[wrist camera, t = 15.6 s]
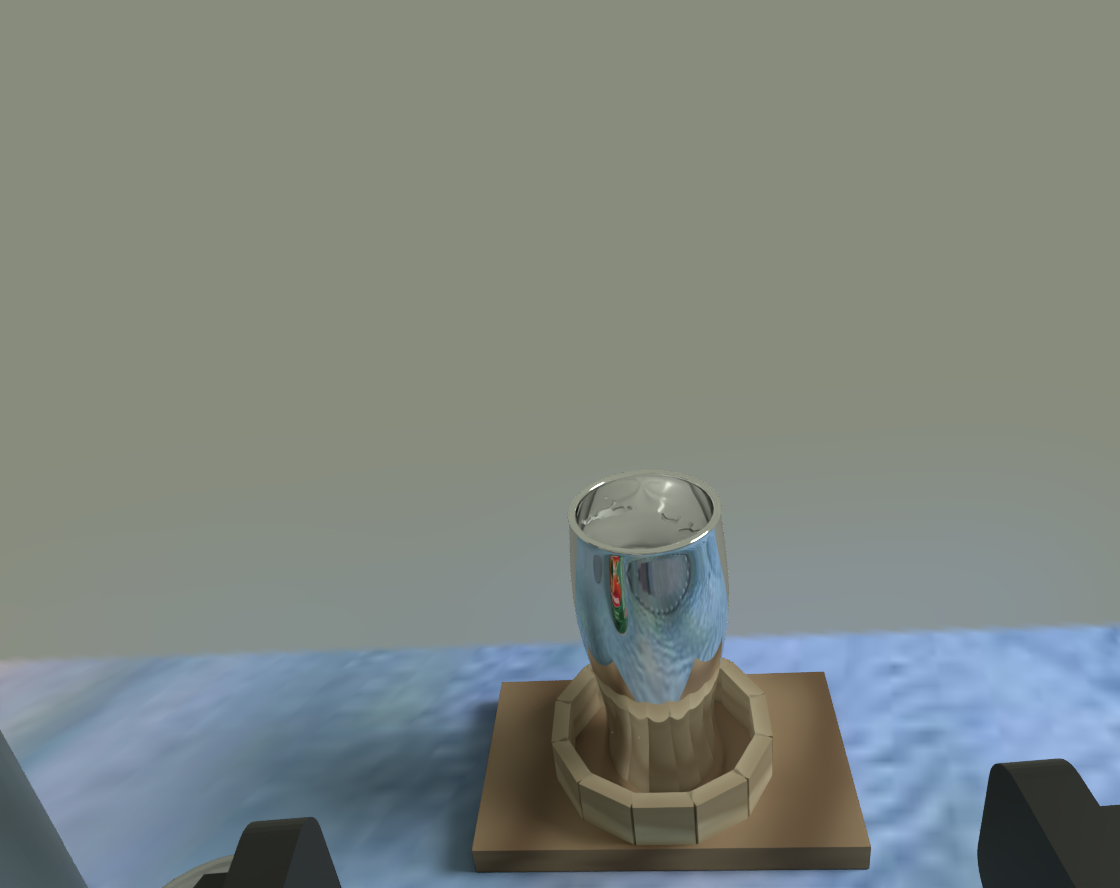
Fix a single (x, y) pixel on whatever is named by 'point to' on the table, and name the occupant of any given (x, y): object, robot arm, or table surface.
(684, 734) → the beer glass
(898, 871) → the table surface
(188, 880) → the canned tomato
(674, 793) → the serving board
